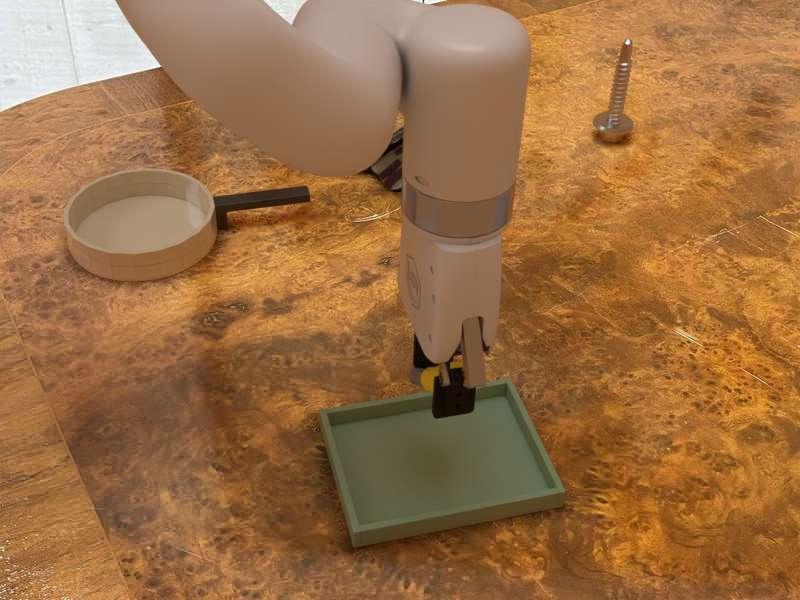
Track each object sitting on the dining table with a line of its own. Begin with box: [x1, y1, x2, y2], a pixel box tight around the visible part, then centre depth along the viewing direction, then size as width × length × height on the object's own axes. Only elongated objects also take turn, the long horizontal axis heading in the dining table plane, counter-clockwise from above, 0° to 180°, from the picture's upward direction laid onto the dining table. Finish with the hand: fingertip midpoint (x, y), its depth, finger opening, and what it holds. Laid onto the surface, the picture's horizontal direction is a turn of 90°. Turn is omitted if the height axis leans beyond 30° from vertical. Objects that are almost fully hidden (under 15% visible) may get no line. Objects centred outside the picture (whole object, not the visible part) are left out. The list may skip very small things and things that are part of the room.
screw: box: [592, 37, 635, 144], centre depth 125 cm, size 13×5×5 cm
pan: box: [63, 167, 218, 282], centre depth 110 cm, size 15×15×4 cm
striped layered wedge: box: [364, 125, 404, 191], centre depth 121 cm, size 10×7×12 cm
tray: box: [318, 377, 567, 549], centre depth 88 cm, size 17×13×2 cm
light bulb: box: [407, 361, 478, 394], centre depth 82 cm, size 3×6×4 cm, turn 58°
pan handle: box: [213, 185, 311, 231], centre depth 113 cm, size 10×2×3 cm, turn 105°
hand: (442, 387), depth 82 cm, fingers closed on light bulb, 4 cm apart
